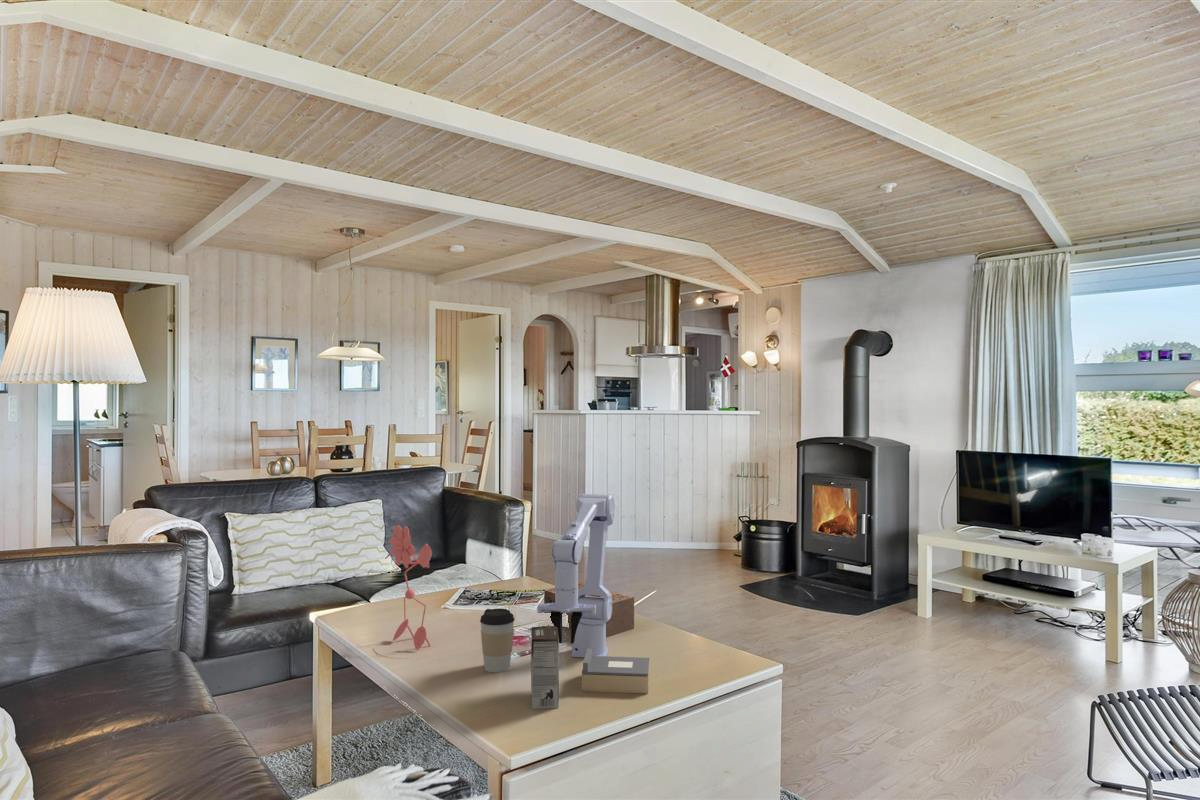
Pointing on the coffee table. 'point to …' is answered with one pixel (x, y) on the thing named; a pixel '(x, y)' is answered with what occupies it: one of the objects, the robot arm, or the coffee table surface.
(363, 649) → the coffee table surface
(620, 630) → the tissue box cover
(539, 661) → the coffee box
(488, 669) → the coffee cup
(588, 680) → the mailer box
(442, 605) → the coffee table surface
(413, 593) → the figurine
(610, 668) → the lid
